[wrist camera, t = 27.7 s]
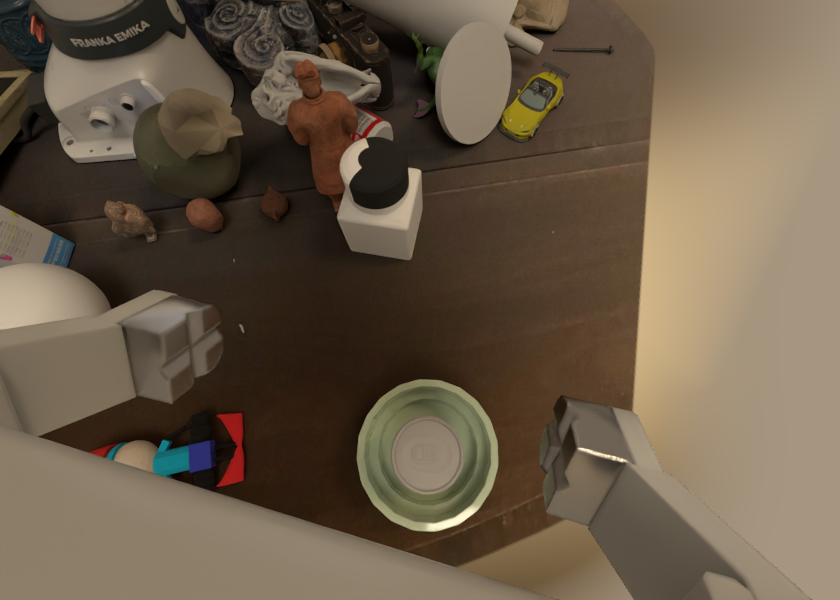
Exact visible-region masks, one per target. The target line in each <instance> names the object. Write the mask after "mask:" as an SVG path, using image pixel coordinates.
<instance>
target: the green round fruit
mask: <svg viewBox="0 0 840 600" xmlns="http://www.w3.org/2000/svg"><path fill="white" fill-rule="evenodd" d="M231 112H232V108H231V107H230V106H228V105H227V104H226V103H225V102H223V101H222V100H221V99H220V98H218V97H215V96H211V95H209V94H208V93H206V92H203V91H200V90H197V89H193V88H185V89H180V90H177V91H174V92H172V93H170V94H169V95H168V96H167V97H166V98H165V100H164V101H163V102H161V103H158V104H155V105H153V106H150V107H149V108H147V109H146V110H144V111H143V112H142V114H141V115H140V116H139V118H138V119H137V121H136V124H135V128H134V132H133V147H134V153H135V156H136V159H137V161H138V163H139V165H140V166H141V168H142V169H143V171H144V172H145V174H146V175H147V176H148V177H149V179H150V180H151V181H152V182H153V183H154V184H155V185H157V186H158V187H159V188H160V189H161V190H162V191H164V192H166V193H168V194H170V195H173V196H176V197H181V198H186V199H192V200H194V199H197V198H205V199H207V200H210V199H214V198H216V197H218V196H220V195H222V194H224V193H226V192H227V191H229V190H230V189H231V188H232V187H233V186H234V185H235V184H236V182H237V180H238V176H239V172H240V166H241V147H240V143H239V139H238V137H237V136H238V135H243V132H242V129H241V121H240V120H239V119H238V118H237V117H236V116H234V115H232V114H231Z"/></svg>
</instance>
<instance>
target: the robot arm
mask: <svg viewBox="0 0 840 600" xmlns="http://www.w3.org/2000/svg"><path fill="white" fill-rule="evenodd" d="M28 15H29V16H30V18H31V19H32V21H31V33H32V34H33V35H34V34H35V32H36V35H37V37H38V40H39V42H40V43H43V42H44V33H45V34H46V35H47V36H48V37H49V38H51V39H52V41H53V42H52V45H51V49H50V52H49V56H48V60H47V63H46V67H45V71H44V72H40V73H36V74H32V75H29V76H28V107H27V108H26V110H25V111H24V112H23V114H22V116H21V118H20V125H21V128H22V131H23V135H22V136H21V137H14V138H13V140H12V141H11V142H13V143H25V142H28V141H30V140H31V138H32V133H31V130H30V127H29V121H30V118H31V117H32V115H33V114H34V113H35V112H36V113H37V114H38V115H39V116H40V117H42V118H43V119H44V120H45V121H46V122H48V123H49V124H50V125H54V124H57V123H58V129H59V137H60V141H61V144H62V147H63V149H64V150H65V152H66V153H67V154H68V155H69V156H70V157H71V158H72V159H73V160H74V161H75V162H77V163H88V162H100V161H113V160H125V159H136V156H135V153H134V147H133V132H134V128H135V124H136V121H137V119H138V118H139V116H140V115H141V114H142V112H143V111H144V110H146V109H147V108H149V107H150V106H153V105H155V104H158V103H161V102H163V101H164V100H165V98H166V97H167V96H168V95H169V94H170V93H172V92H174V91H177V90H180V89H185V88H193V89H197V90H200V91H203V92H206V93H208V94H209V95H211V96H215V97H218V98H220V99H221V100H222V101H223V102H225V103H226V104H227V105H228V106H231V103H232V100H233V96H234V87H233V83H232V80H231V78H230V76H229V75H228V74H227V73H226V72H225V71H224V70H223V69H222V68H221V67H220V66H219V65H218V64H217V63H216V62H215V60H214V59H213V58H212V57H211V56H210V55H209V54H208V52H207V51H206V50H205V49H204V47H203V46H202V45H201V43H200V42H199V41H198V39H197V38H196V37H195V35H194V34H193V33H192V31H191V30H190V28H189V27H188V25H187V24H186V21H185V18H184V15H183V13H182V11H181V9H180V7H179V5H178V3H177V1H176V0H31V3H30V5H29V10H28ZM221 323H222V317H221V310H220V309H219V308H218V307H217V306H216V305H213V304H209V303H205V302H202V301H198V300H195V299H191V298H188V297H184V296H181V295H177V294H173V293H169V292H165V291H161V290H152V291H150V292H148V293H146V294H144V295H141V296H139V297H137V298H135V299H133V300H131V301H129V302H126V303H124V304H122V305H120V306H118V307H116V308H114V309H111V310H109V311H107V312H105V313H103V314H101V315H99V316H96V317H94V318H93V317H89V316H85V317H79V318H72V319H66V320H60V321H53V322H47V323H41V324H34V325H28V326H22V327H15V328H9V329H3V330H0V600H558V599H554V598H551V597H548V596H545V595H542V594H539V593H536V592H532V591H529V590H525V589H523V588H520V587H516V586H513V585H510V584H507V583H504V582H500V581H497V580H494V579H491V578H488V577H484V576H481V575H478V574H474V573H471V572H468V571H465V570H462V569H459V568H456V567H452V566H449V565H446V564H443V563H440V562H436V561H433V560H430V559H427V558H424V557H420V556H417V555H414V554H411V553H408V552H404V551H401V550H398V549H395V548H392V547H388V546H385V545H382V544H379V543H376V542H372V541H369V540H366V539H363V538H360V537H356V536H353V535H350V534H347V533H344V532H340V531H337V530H334V529H331V528H328V527H324V526H321V525H318V524H315V523H312V522H308V521H305V520H302V519H299V518H296V517H292V516H289V515H286V514H283V513H280V512H276V511H273V510H270V509H267V508H264V507H260V506H257V505H254V504H251V503H248V502H244V501H241V500H238V499H235V498H232V497H229V496H225V495H222V494H219V493H216V492H213V491H209V490H206V489H203V488H200V487H197V486H193V485H190V484H187V483H184V482H181V481H177V480H174V479H171V478H168V477H165V476H161V475H158V474H155V473H152V472H149V471H145V470H142V469H139V468H136V467H133V466H129V465H126V464H123V463H120V462H117V461H113V460H110V459H107V458H104V457H101V456H98V455H94V454H91V453H88V452H85V451H82V450H78V449H75V448H72V447H69V446H66V445H62V444H59V443H56V442H53V441H50V440H46V439H43V438H40V437H38V436H41V435H43V434H46V433H48V432H50V431H53V430H55V429H58V428H60V427H63V426H65V425H68V424H70V423H73V422H75V421H78V420H80V419H83V418H85V417H88V416H90V415H93V414H95V413H97V412H100V411H102V410H105V409H107V408H110V407H112V406H115V405H117V404H120V403H122V402H125V401H127V400H130V399H132V398H135V397H136V395H139V396H142V397H146V398H150V399H154V400H158V401H162V402H166V403H170V404H172V403H173V402H175V401H176V400H177V399H178V398H179V397H181V396H182V395H183V394H184V393H185V392H187V391H188V390H189V389H190V388H191V387H193V386H194V378H196V377H200V376H203V375H206V374H208V373H209V372H210V371H211V370H212V369H213V368H215V367H216V365H217V363H218V362H219V360H220V358H221V356H222V352H223V348H224V343H223V337H222V335H221V334H220V332H219V331H218V329H217V328H218V327H219V325H220V324H221ZM553 410H554V416H555V420H554V421H552V422H550V423H548V424H547V425H546V428H545V431H544V433H543V436H542V441H541V446H540V465H541V468H542V469H543V471H544V472H545V473H546V475H547V476H546V478H545V480H544V483H543V492H544V501H545V509H546V513H548V514H551V515H554V516H557V517H561V518H564V519H567V520H570V521H573V522H576V523H579V524H582V525H586V526H589V528H588V529H589V530H590V532H591V533H592V535H593V537H594V538H595V540H596V541H597V543H598V544H599V546H600V548H601V549H602V550H603V552H604V554H605V555H606V557H607V558H608V560H609V561H610V563H611V565H612V566H613V568H614V569H615V571H616V572H617V574H618V575H619V577H620V578H621V580H622V581H623V583H624V585H625V586H626V588H627V589H628V591H629V592H630V594H631V595H632V597H633V599H634V600H812V599H811V598H810V597H809V596H807V595H806V594H805V593H804V592H803V591H802V590H801V589H800V588H798V587H797V586H796V585H795V584H794V583H793V582H792V581H791V580H790V579H789V578H787V577H786V576H785V575H784V574H783V573H782V572H780V570H778V569H777V568H776V567H775V566H774V565H773V564H772V563H771V562H769V561H768V560H767V559H766V558H765V557H764V556H763V555H762V554H760V553H759V552H758V551H757V550H756V549H755V548H754V547H753V546H752V545H750V544H749V543H748V542H747V541H746V540H745V539H744V538H743V537H741V536H740V535H739V534H738V533H737V532H736V531H735V530H734V529H732V528H731V527H730V526H729V525H728V524H727V523H726V522H725V521H724V520H722V519H721V518H720V517H719V516H718V515H717V514H716V513H715V512H714V511H712V510H711V509H710V508H709V507H708V506H707V505H706V504H705V503H703V502H702V501H701V500H700V499H699V498H698V497H697V496H696V495H694V494H693V493H692V492H691V491H690V490H689V489H688V488H687V487H685V486H684V485H683V484H682V483H681V482H680V481H679V480H678V479H676V478H675V477H674V476H673V475H671V474H667V473H664V471H663V469H662V467H661V465H660V462H659V460H658V458H657V456H656V454H655V452H654V450H653V448H652V445H651V443H650V441H649V439H648V437H647V435H646V433H645V431H644V428H643V426H642V424H641V422H640V420H639V418H638V416H637V415H636V414H635V413H634V412H632V411H628V410H623V409H619V408H615V407H610V406H604V405H600V404H596V403H591V402H587V401H583V400H579V399H575V398H571V397H567V396H563V395H561V396H560V397H559V399H558V400H557V402H556V404H555V407H554V409H553Z"/></svg>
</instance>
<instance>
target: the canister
mask: <svg viewBox="0 0 840 600" xmlns="http://www.w3.org/2000/svg"><path fill="white" fill-rule="evenodd" d="M30 3H31V0H0V43H1V44H2V45H3V46H4V47H5V48H6V50H7V51H8V52H9V53H10V54H11V55H12V56H13V57H14V58H15V59H16V60H18V61H19V62H21V63H23V64H24V65H26V66H27V67H28V68H30V69H31V70H33V71H36V72H44V71H45V67H46V63H47V60H48V56H49V52H50V49H51V45H52V42H53V41H52V39H51V38H49V37H48V36H47V35H46V34H45V33H44V42H43V43H40V42H39V40H38V37H37V35H36V32H35V34H34V35H33V34H32V33H31V21H32V19H31V18H30V16H29V15H28V10H29V5H30Z"/></svg>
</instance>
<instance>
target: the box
mask: <svg viewBox="0 0 840 600" xmlns="http://www.w3.org/2000/svg"><path fill="white" fill-rule="evenodd" d="M32 74H34V73H33V72H32V71H30V70H26V69H22V70H15V71H6V72H0V155H1V153H2V152H3V151H4V150H5V148H6V147H7V146H8V145H9V143H10V142H11V141H12V140H13V138H14V137H15V136H16V135H17V133H18V132H19V131H20V130H21V125H20V118H21V116H22V114H23V112H24V111H25V110H26V108H27V107H28V76H29V75H32Z"/></svg>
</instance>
